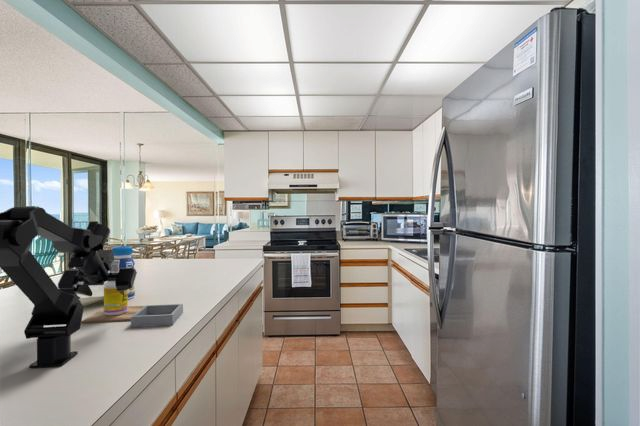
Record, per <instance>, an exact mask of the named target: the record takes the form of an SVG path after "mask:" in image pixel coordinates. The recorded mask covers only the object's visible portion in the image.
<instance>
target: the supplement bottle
mask: <svg viewBox="0 0 640 426" xmlns="http://www.w3.org/2000/svg"><path fill="white" fill-rule="evenodd" d="M128 301H129V299H128V289H127V290H126V292H125V295H122V294H121V293H120V292H118V291H117V288H116V286H115V281H105V282H104V285H103V308H104V314H105V315H108V316H113V315H120V314H123V313H125V312H127V310H128V306H129V305H128V303H129V302H128Z"/></svg>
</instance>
